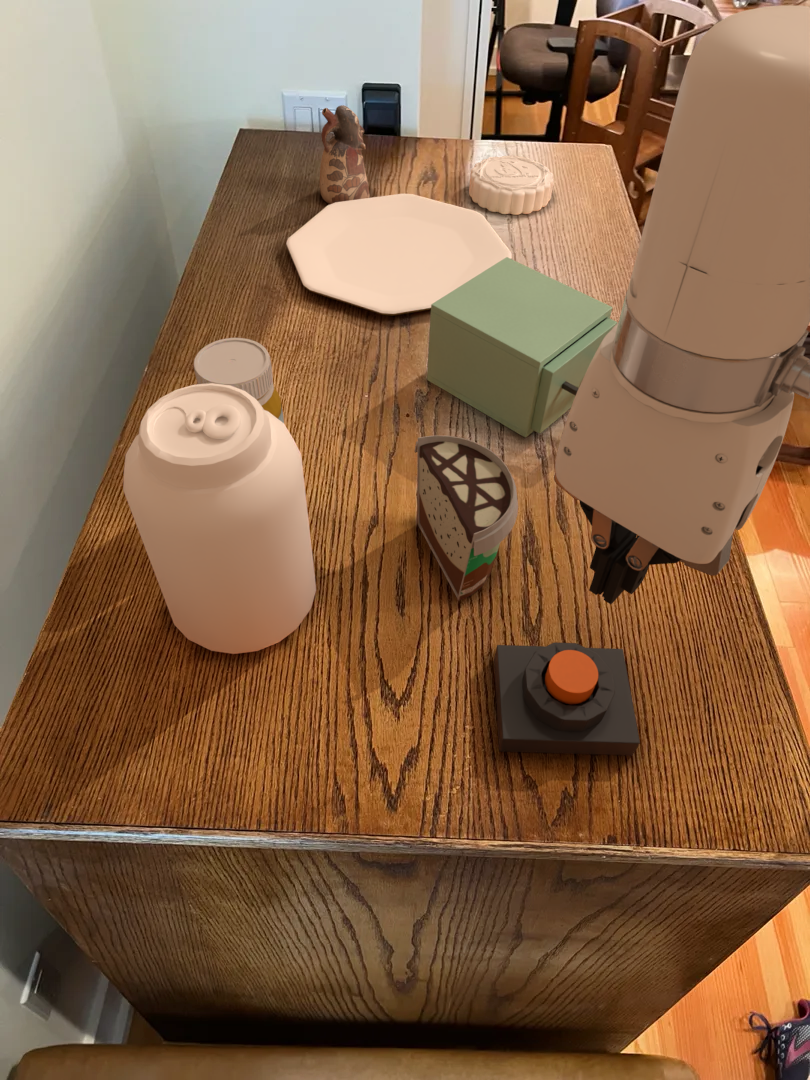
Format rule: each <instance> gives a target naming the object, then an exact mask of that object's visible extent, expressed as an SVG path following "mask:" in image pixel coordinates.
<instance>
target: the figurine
mask: <svg viewBox="0 0 810 1080" xmlns="http://www.w3.org/2000/svg"><path fill="white" fill-rule="evenodd" d="M334 112H335V113H333V112H332V111H331V109H329V108H328V107H324V108H323V109H322V110H321V114H322V116H323V117H324V118H325V120H326V123H325V124H324V125H323V127H322V128H321V142H322V145H323V147H324V148H323V151H322V155H321V160H320V167H319V169H320V170H319V181H318V182H319V186H318V187H319V193H320V196H321V198H322V199H323V201H325V202H326V203H327V204H328V205H330V204H333V203H335V202H342V201H350V200H357V199H365V198H371V195H370V189H369V182H368V178H367V172H366V167H365V162H364V156H363V154H362V150H366V144H365V143H364V140H363V135H364V133H365V129H364V127H363V126H362V125H361V124H360V120H359V117H358V115H357V114H356V113H355V112H354V110H352V109H351V108H349V107H348V106H347V105H343V104H342V105H338V106H337V107H336V108H335V111H334ZM331 133H333V136H332V137H330V138H329V139H328V140H327V137H328V135H329V134H331Z"/></svg>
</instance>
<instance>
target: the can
mask: <svg viewBox="0 0 810 1080" xmlns="http://www.w3.org/2000/svg"><path fill="white" fill-rule="evenodd" d="M123 466H124V468H123V483H122V485H123V486H122V487H123V493H124V497H125V498H126V502H127V504H128V507H129V509H130V512H131V514H132V516H133V520H134V522H135V525H136V528H137V530H138V533H139V535H140V539H141V541H142V544H143V547H144V549H145V551H146V555H147V557H148V559H149V562H150V565H151V567H152V570H153V573H154V575H155V578H156V580H157V583H158V586H159V588H160V591H161V594H162V596H163V600H164V601H165V604H166V607H167V609H168V612H169V615H170V617H171V620H172V622H173V625H174V626H175V627H176V629H178V630H179V632H181V633H182V635H183V636H184V637H185V638H186V639H187V640H188V641H191V642H193V643H195V644H197V645H199V646H201V647H203V648H205V649H207V650H208V651H211V652H217V653H224V654H231V655H236V654H244V653H253V652H258V651H261V650H263V649H266V648H268V647H271V646H273V645H276V644H279V643H280V642H282V641H283V640H284V639H285V638H286V637H288V636H289V635H291V634H293V632H295V631H296V630H297V629H298V627H299V626H300V625H301V623H302V622H303V621H304V619H305V618H306V617H307V615H308V614H309V612H310V611H311V609H312V607H313V602H314V600H315V597H316V592H317V584H316V574H315V567H314V566H315V565H314V557H313V548H312V539H311V530H310V529H311V528H310V521H309V520H310V519H309V512H308V511H309V510H308V503H307V493H306V486H305V477H304V467H303V466H304V465H303V459H302V453H301V451H300V449H299V447H298V445H297V443H296V441H295V439H294V438H293V436H292V434H291V432H290V431H289V429H288V428H287V426H286V424H285V422H284V423H283V422H281V421H280V420H279V419H277V418H276V417H275V416H273V415H272V414H271V413H270V412H268V411H266V410H264V409H263V407H262V406H261V405H260V403H259V402H258V401H257V400H256V399H255V398H254V397H252V396H251V395H250V394H248V393H247V392H246V391H244V390H241V389H238V388H236V387H233V386H230V385H223V384H214V383H209V384H198V383H196V384H192V385H188V386H185V387H181V388H177V389H175V390H173V391H171V392H169V393H167V394H164V395H163V396H161V397H159V398H158V399H157V400H156V401H155V402H153V404H152V405H151V406H150V407H148V409H147V410H146V412H145V414H144V415H143V417H142V419H141V420H140V425H139V428H138V434H136V436H135V437H134V439H133V440H132V442H131V444H130V446H129V448H128V449H127V451H126V453H125V457H124V465H123Z"/></svg>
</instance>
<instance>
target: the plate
mask: <svg viewBox="0 0 810 1080" xmlns="http://www.w3.org/2000/svg"><path fill="white" fill-rule="evenodd" d="M285 244H286V248H287V250H288V253H289V255H290V258H291V259H292V260H291V261H292V262H293V265H294V267H295V270H296V272H297V274H298V277H299V279H300V282H301V284H302V286H303V288H305V289H306V290H308V291H309V292H310V293H314V294H316V295H320V296H323V297H326V298H329V299H331V300H335V301H338V302H341V303H344V304H348V305H351V306H354V307H357V308H360V309H363V310H366V311H369V312H372V313H375V314H378V315H382V316H392V317H394V316H399V315H406V314H411V313H417V312H424V311H431V304H433V303H434V302H436V301H437V300H439V299H441V298H442V297H444V296H445V295H447V294H449V293H450V292H452V291H453V290H455V289H457V288H458V287H460V286H461V285H463V284H464V283H466V282H468V281H469V280H471V279H472V278H474V277H476V276H477V275H479V274H480V273H482V272H484V271H485V270H487V269H488V268H490V267H492V266H493V265H495V264H496V263H498V262H500V261H501V260H503V259H504V258H506V257H508V258H510V259H512V258H513V257H512V256H513V255H512V251H511V250H510V249H509V248H508V246H507V245H506V244H505V242H504V241H503V239H502V238H501V237H500V236H499V234H498V233H497V232H496V231H495V229H494V228H493V227H492V225H491V223H490V222H489V221H488V219H486V217H485V216H484V214H482V213H480V212H478V211H476V210H473V209H470V208H465V207H462V206H459V205H455V204H450V203H447V202H444V201H439V200H436V199H432V198H428V197H426V196H425V197H424V196H420V195H417V194H414V193H403V192H402V193H395V194H389V195H388V194H387V195H380V196H373V197H369V198H365V199H357V200H350V201H342V202H335V203H333V204H328V205H326V206H325V207H324V208H322V209H321V210H320V211H319V212H318V213H316V215H314V216H313V217H312V218H310V219H309V220H308V221H307V222H305V224H304V225H301V227H300V228H299V229H298V230H296V231H295V232H293V234H291V235H290V236H289V237H288V238H287V240H286V243H285Z"/></svg>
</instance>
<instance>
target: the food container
mask: <svg viewBox="0 0 810 1080" xmlns="http://www.w3.org/2000/svg"><path fill="white" fill-rule="evenodd" d="M414 446H415V447H414V453H415V454H416V453H417V455H416V457H417V459H416V460H417V461H416V463H417V467H416V473H417V474H416V475H417V477H416V478H417V481H416V482H417V483H416V484H417V486H416V487H417V488H416V489H417V497H416V498H417V502H416V503H417V504H416V506H417V507H416V508H417V509H416V511H417V516H416V517H417V519H416V520H417V526H418V528H419V529H420V531H421V533H422V535H423V537H424V539H425V541H426V542H427V544H428V546H429V549H430V550H431V552H432V554H433V556H434V557H435V560H436V561H437V563H438V565H439V567H440V570H441V571H442V573H443V574H444V577H445V578H446V580H447V582H448V584H449V585H450V587H451V589H452V591H453V593H454V595H455V596H456V599H457V601H458V602H459V601H462V600H464V599H466V598H469V597H471V596H472V595H474V594H475V593H476V592H477V591H480V589H481V588H483V587H484V586H485V584H486V582H487V580H488V579H489V577H490V576H491V574H492V570H493V567H494V564H495V561H496V557H497V554H498V551H499V548H500V545H501V543H502V542H503V541H504V540H505V539H506V538H507V536H508V535H509V534H510V533H511V531H512V530H513V528H514V527H515V524H516V521H517V518H518V513H519V502H518V492H517V491H518V490H517V485H516V481H515V479H514V477H513V475H512V473H511V471H510V469H509V467H508V465H507V464H506V463H505V462H504V461H503V459H502V458H501V457H500V456H498V455H497V454H496V452H494V451H492V450H491V449H490V448H488V447H487V446H485V445H483V444H481V443H479V442H477V441H473V440H471V439H468V438H464V437H459V436H452V435H446V434H445V435H441V434H440V435H439V434H436V435H426V436H420V437H417V441H416V442H415V445H414Z"/></svg>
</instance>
